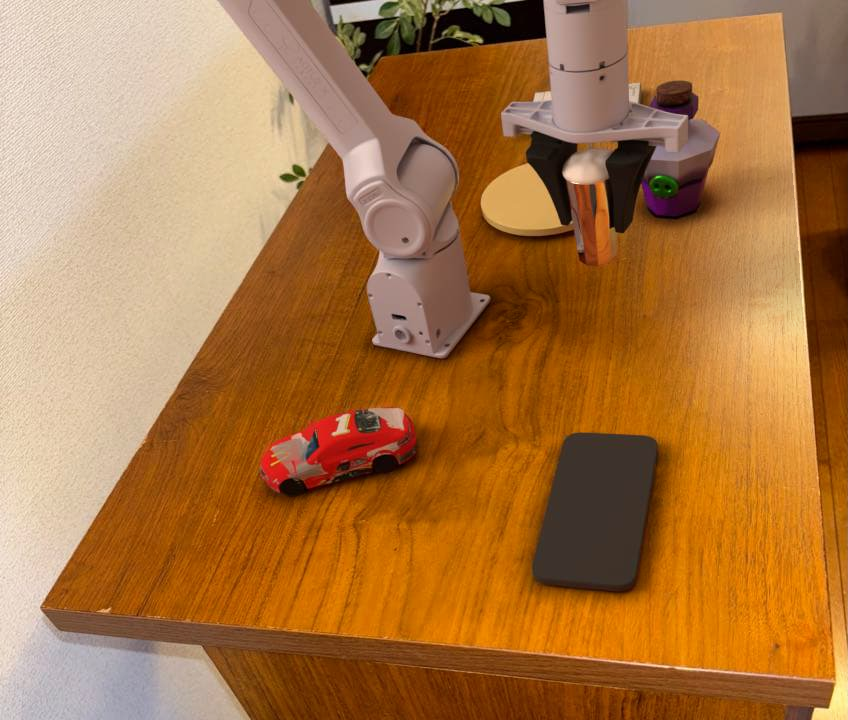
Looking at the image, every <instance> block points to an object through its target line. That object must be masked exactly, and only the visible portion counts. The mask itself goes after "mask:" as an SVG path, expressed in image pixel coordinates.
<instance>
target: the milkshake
mask: <svg viewBox="0 0 848 720" xmlns="http://www.w3.org/2000/svg"><path fill="white" fill-rule="evenodd" d="M586 146H587V148H586V149H582V150H577V152H576V153H574V154H573V155H571V156H570V157H569V158H568V159H567V161H566V162H565V163H564V165H563V169H562V174H563V178H564V183H565V188H566V193H567V197H568V202H569V206H570V211H571V216H572V222H573V228H574V230H573V232H574V238H575V244H576V250H577V255H578V260H579V262H580V263H582V264H584V265H585V266H587V267H601V266H605V265H608V264H611V263H612V262H613V261H614V260H615V259H617V257H618V239H619V237H618V234H619V233H616V232H615V228H614V208H613V194H612V188H611V183H610V179H609V175H608V172H607V169H606V166H605V161H606V160H607V159H608V157H609V156H610V155H611V154H612V152H613V151H614V150H610V149H609V148H606V147H596V148H595V147H594V143H586Z"/></svg>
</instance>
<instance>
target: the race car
mask: <svg viewBox="0 0 848 720" xmlns="http://www.w3.org/2000/svg"><path fill="white" fill-rule="evenodd" d="M418 449H419V444H418V438H417V432H416V428H415V424H414V423H413V421H412V419H411V417H410V416H409V415H407V413H406V411H405V410H404V409H403V408H401V407H399V406H386V407H385V406H384V407H371V408H370V407H369V408H361V409H353V410H349V411H348V410H347V411H344V412H339V413H337V414H333V415H329V416H326V417H324V418H321V419H318V420H316V421H314V422H313V421H312V420H309V422H308V426H307V427H306V428H304V429H303V430H300V431H298V432H295V433H292V434H289V435H287V436H284V437H282V438H279V439H278V440H276V441H275V442H273V443H271V444H270V445H269V446H268V447H267V449H266V450H265V452H264V454H263V455H262V457H261V461H260V469H259V470H260V475H261V477H262V480H263V481H264V483H265V484H266V485H267V486H268V488H269V489H271V490H272V491H274V492H276V493H278V494H281V492H282V493H283V494H284V495H286V496H289V497H294V496H298V495H300V494H301V493H302V492H303V491H304V489H305V487H306V489H307V490H308V489H312V488H317V487H321V486H324V485H327V484H332V483H336V482H339V481H340V482H341V481H344V480H348V479H351V478H355V477H361V476H364V475H368V474H371V473H374V470H375V471H377V472H379V473H388V472H391V471H393V469H395V467H396V465H397V463H398V465H401V464H404V463H405V462H407V461H408V460H410V459H411V458H412V457H413V456H415V454H416V453H417V450H418ZM373 468H374V469H373Z"/></svg>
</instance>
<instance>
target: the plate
mask: <svg viewBox="0 0 848 720" xmlns="http://www.w3.org/2000/svg"><path fill="white" fill-rule="evenodd" d="M480 210H481V215H482V216H483V218H484V220H485V221H486V222H487V223H488V224H489V225H490V226H491V227H493V228H494V229H497V230H499V231H501V232H504V233H507V234H510V235H516V236H522V237H523V236H524V237H543V236H546V237H547V236H551V235H558V234H563V233H567V232H571V231H574V228H573V222H572V221H571V223H570V224H569V225H568V226H566V225H561V223H560V220H559V217H558V214H557V211H556V209H555V206H554V204H553V201H552V199H551V197H550V194H549V192H548V190H547V188H546V187H545V185H544V183H543V182H542V180H541V178H540V177H539V176H538V174H537V173H536V171H535V170H534V169H533V168H532V167H531V166H530V165H529V163H528V162H526V163H524V164H521V165H519V166H516V167H514V168H511V169H509V170H507V171H505V172H503V173H501V174H500V175H499V176H497V177H496V178H494V179H493V180H491V182H490V183H489V184H488V185H487V186H486V187H485V189H484V191H483V192H482V194H481V197H480Z"/></svg>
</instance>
